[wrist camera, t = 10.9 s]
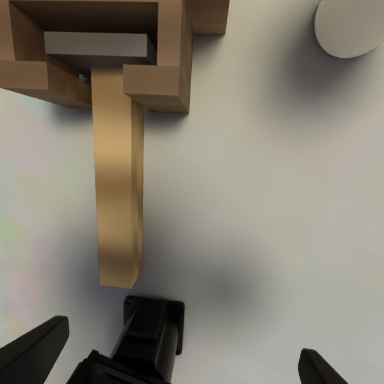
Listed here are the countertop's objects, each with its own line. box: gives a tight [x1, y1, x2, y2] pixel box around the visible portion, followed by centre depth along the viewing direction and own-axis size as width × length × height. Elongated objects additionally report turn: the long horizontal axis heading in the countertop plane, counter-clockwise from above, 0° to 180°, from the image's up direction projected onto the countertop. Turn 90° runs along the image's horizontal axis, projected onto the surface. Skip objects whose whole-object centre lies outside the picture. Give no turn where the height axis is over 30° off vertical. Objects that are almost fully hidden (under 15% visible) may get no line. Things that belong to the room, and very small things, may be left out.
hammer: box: [44, 32, 157, 289], centre depth 17 cm, size 19×6×5 cm, turn 176°
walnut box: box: [0, 0, 230, 113], centre depth 12 cm, size 8×16×9 cm, turn 86°
